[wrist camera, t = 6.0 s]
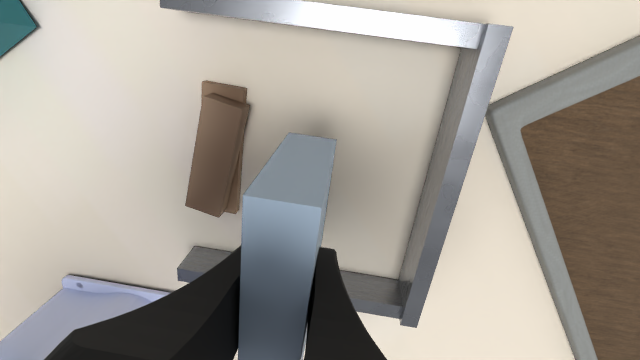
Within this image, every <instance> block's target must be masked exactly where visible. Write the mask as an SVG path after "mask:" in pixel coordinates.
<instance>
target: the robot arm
mask: <svg viewBox="0 0 640 360" xmlns="http://www.w3.org/2000/svg"><path fill="white" fill-rule="evenodd" d="M240 276H241V246H240V247H239V248H237V249H236V250H235V251H234V252H233V253H231V254H230V255H229V256H227V257H226V258H225V259H224V260H222V261H221V262H220V263H218V264H217V265H216V266H214V267H213V268H211V269H210V270H209V271H207V272H206V273H204V274H203V275H201V276H200V277H198V278H197V279H195V280H194V281H192V282H190V283H189V284H187V285H185V286H183V287H182V288H180V289H178V290H176V291H174V292H172V293H169V292H163V291H157V290H152V289H146V288H140V287H134V286H129V285H123V284H117V283H112V282H106V281H100V280H94V279H89V278H83V277H77V276H72V275H67V276H65V277H64V278H63V279H62V285H63V289H62V290H60V291H59V292H58V293H57V294H56V295H54V296H53V297H52V298H51V299H50V300H49V301H47V302H46V303H45V304H44V305H43V306H41V307H40V308H39V309H38V310H37V311H36V312H34V313H33V314H32V315H31V316H30V317H28V318H27V319H26V320H25V321H24V322H22V323H21V324H20V325H19V326H18V327H17V328H15V329H14V330H13V331H12V332H11V333H9V334H8V335H7V336H6V337H5V338H4V339H2V340H1V341H0V360H233V359H234V356H235V354H236V352H237V349H238V342H239V309H240ZM304 360H387V359H386V358H385V356H384V355H383V353H382V352H381V351H380V349H379V348H378V346H377V345H376V344H375V342H374V341H373V339H372V338H371V336H370V335H369V333H368V332H367V330H366V328H365V327H364V325H363V323H362V322H361V320H360V318H359V316H358V314H357V312H356V310H355V308H354V306H353V304H352V302H351V300H350V297H349V295H348V293H347V290H346V288H345V285H344V282H343V279H342V276H341V273H340V270H339V266H338V262H337V256H336V251H335V250H334V249H328V248H322V247H319V251H318V255H317V260H316V266H315V273H314V280H313V287H312V294H311V301H310V308H309V315H308V322H307V336H306V349H305V357H304Z"/></svg>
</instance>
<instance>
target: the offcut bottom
mask: <svg viewBox="0 0 640 360" xmlns="http://www.w3.org/2000/svg"><path fill="white" fill-rule="evenodd" d="M210 93H216V94H218V95H221V96H224V97H227V98H230V99H233V100H236V101H238V102H241V103H244V104H246V96H247V88H244V87H238V86H233V85H227V84H222V83H216V82H211V81H203V82H202V100H203V96H204V95H207V94H210ZM243 140H244V134H243V138H242V143H241V147H240V151H239V156H238V160H237V165H236V169H235V174H234V178H233V182H232V187H231V191H230V196H229V200H228V205H227V209H226V210H225V211H224V212H228V213H233V214H236V213H237V211H238V210H239V198H240V183H241V169H242V154H243Z"/></svg>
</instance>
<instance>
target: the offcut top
mask: <svg viewBox="0 0 640 360" xmlns="http://www.w3.org/2000/svg"><path fill="white" fill-rule="evenodd" d="M249 107H250V105H247V104H244V103H241V102H238V101H236V100H233V99H230V98H227V97H224V96H221V95H218V94H216V93H210V94H207V95H204V96H203V100H202V106H201V112H200V118H199V124H198V130H197V137H196V143H195V149H194V155H193V161H192V167H191V173H190V179H189V186H188V192H187V198H186V204H185V206H187V207H190V208H193V209H196V210H199V211H202V212H204V213H207V214H210V215H213V216H216V217H220V216H221V215H222V213H223V212H224V211H225V210H226V209H227V205H228V200H229V196H230V191H231V187H232V182H233V178H234V174H235V169H236V165H237V160H238V156H239V151H240V147H241V143H242V138H243V134H244V129H245V125H246V120H247V116H248V111H249Z"/></svg>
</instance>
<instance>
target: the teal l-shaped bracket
mask: <svg viewBox="0 0 640 360" xmlns="http://www.w3.org/2000/svg"><path fill="white" fill-rule="evenodd" d="M36 27H37V26H36V25H35V23H34V22H33V20H32V19H31V17H30V16H29V14H28V13H27V11H26V10H25V8H24V7H23V5H22V4H21V2H20V1H19V0H0V56H1V55H2V54H4V53H5V52H6V51H7V50H9V49H10V48H11V47H12V46H14V45H15V44H16V43H17V42H19V41H20V40H21V39H22V38H24V37H25V36H26V35H27V34H29V33H30V32H31V31H32V30H34V29H35V28H36Z"/></svg>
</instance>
